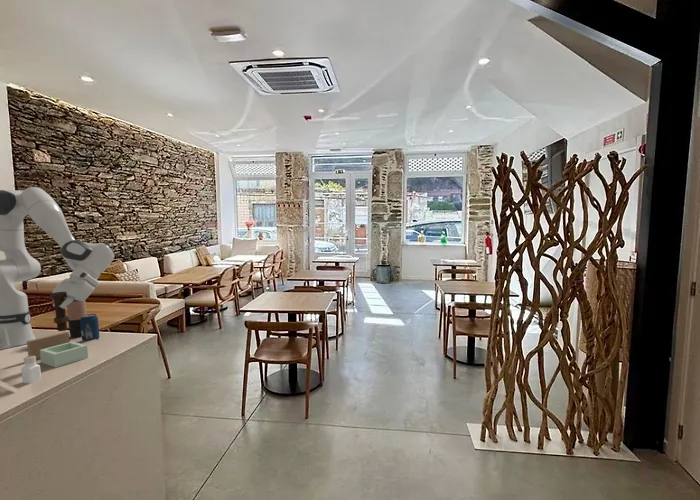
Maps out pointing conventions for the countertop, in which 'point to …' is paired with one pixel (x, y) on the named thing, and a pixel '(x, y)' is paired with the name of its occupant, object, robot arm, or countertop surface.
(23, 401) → the countertop surface
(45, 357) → the socket block
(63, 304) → the robot arm
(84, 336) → the soda can
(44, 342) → the backstop board
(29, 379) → the pepper shaker
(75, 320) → the travel mug
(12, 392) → the countertop surface
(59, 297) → the bolt
